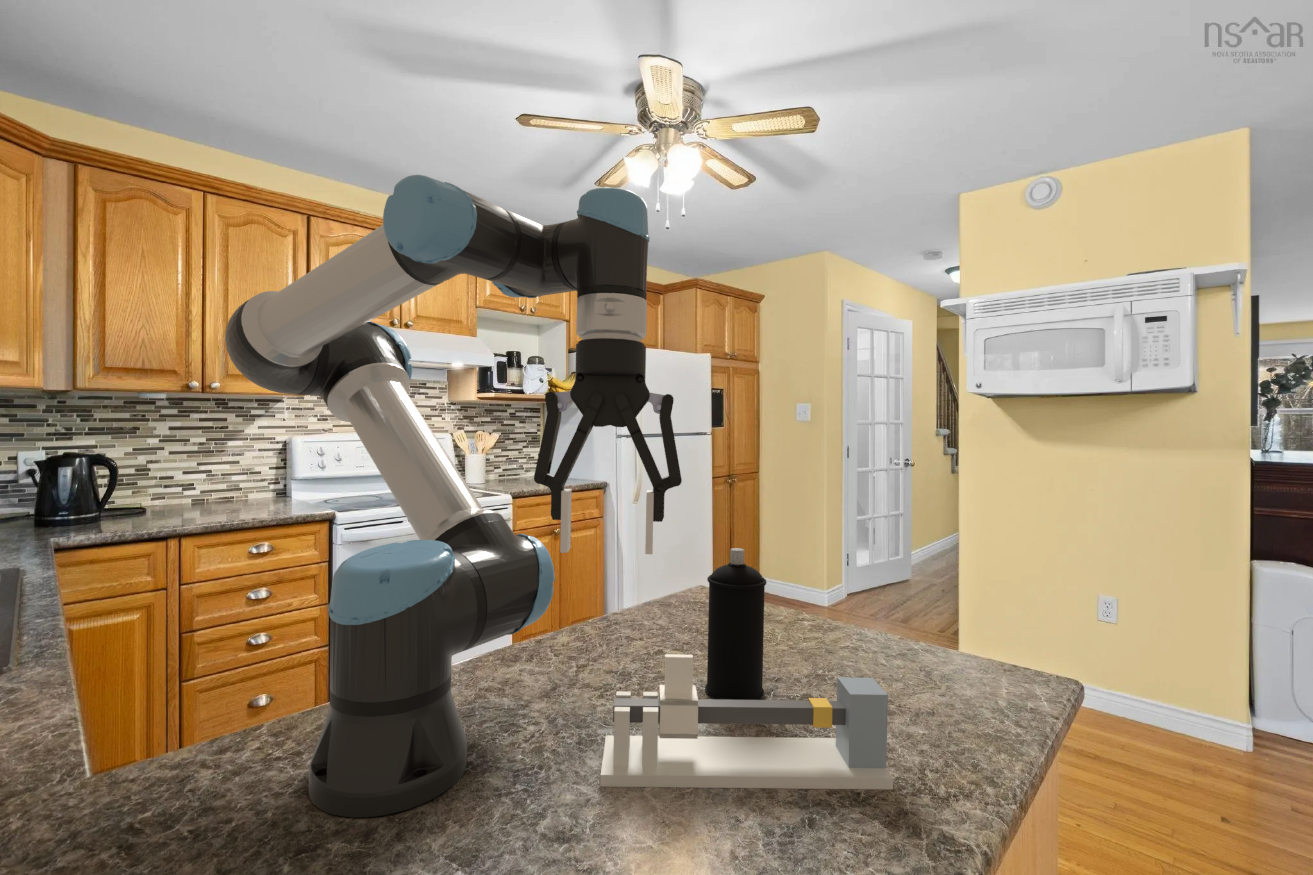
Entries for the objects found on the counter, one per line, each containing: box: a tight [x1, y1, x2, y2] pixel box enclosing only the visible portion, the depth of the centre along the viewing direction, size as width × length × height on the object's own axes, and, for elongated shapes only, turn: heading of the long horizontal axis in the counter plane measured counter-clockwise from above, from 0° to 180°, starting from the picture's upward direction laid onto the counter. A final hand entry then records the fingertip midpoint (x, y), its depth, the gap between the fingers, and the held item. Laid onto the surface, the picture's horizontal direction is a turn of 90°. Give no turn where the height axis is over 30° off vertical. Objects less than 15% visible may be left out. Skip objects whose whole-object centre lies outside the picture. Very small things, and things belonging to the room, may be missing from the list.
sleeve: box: [658, 653, 699, 739], centre depth 66 cm, size 4×4×8 cm
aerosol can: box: [704, 547, 768, 700], centre depth 85 cm, size 8×8×20 cm
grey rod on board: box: [599, 676, 894, 791], centre depth 66 cm, size 30×8×9 cm, turn 91°
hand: (607, 550), depth 66 cm, fingers open, 8 cm apart
